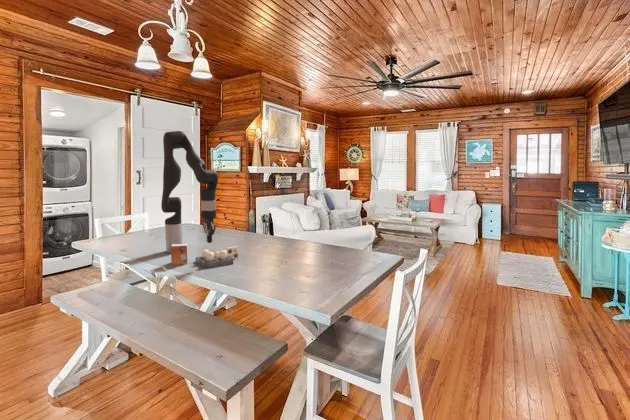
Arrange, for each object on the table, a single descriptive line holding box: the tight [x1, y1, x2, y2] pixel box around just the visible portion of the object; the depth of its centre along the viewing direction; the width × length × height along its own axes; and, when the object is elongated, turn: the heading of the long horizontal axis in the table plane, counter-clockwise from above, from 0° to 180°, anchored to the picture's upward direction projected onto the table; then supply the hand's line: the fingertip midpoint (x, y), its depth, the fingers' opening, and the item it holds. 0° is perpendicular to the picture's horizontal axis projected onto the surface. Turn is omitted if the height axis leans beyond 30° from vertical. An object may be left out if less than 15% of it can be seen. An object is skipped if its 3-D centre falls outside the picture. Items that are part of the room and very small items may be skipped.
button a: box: [206, 251, 215, 262], centre depth 177 cm, size 4×4×4 cm
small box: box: [170, 243, 189, 266], centre depth 181 cm, size 8×6×10 cm
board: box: [195, 254, 234, 269], centre depth 182 cm, size 15×15×3 cm
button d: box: [213, 250, 220, 258], centre depth 187 cm, size 4×4×4 cm
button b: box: [219, 249, 227, 260], centre depth 181 cm, size 4×4×4 cm
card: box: [225, 246, 240, 260], centre depth 192 cm, size 3×7×7 cm, turn 127°
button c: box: [201, 249, 210, 259], centre depth 183 cm, size 4×4×4 cm
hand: (209, 242), depth 176 cm, fingers closed
